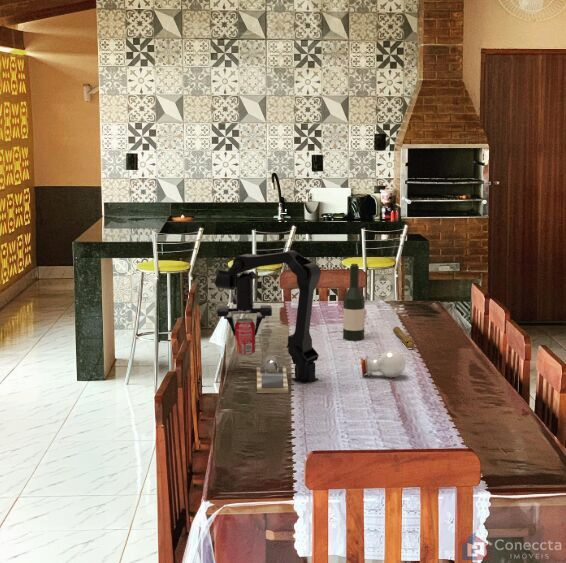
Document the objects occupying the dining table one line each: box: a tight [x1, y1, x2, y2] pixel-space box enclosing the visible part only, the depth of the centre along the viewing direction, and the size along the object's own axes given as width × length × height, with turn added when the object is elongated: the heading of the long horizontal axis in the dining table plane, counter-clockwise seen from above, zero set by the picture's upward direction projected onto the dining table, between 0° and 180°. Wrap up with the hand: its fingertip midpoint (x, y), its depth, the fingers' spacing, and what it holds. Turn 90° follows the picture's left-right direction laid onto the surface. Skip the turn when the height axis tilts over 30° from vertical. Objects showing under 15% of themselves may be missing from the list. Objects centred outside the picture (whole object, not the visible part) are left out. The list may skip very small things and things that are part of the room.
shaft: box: [265, 354, 278, 374], centre depth 340 cm, size 11×4×4 cm, turn 2°
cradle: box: [256, 364, 289, 394], centre depth 332 cm, size 28×10×6 cm, turn 2°
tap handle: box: [393, 326, 415, 349], centre depth 390 cm, size 3×3×30 cm
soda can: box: [234, 317, 256, 357], centre depth 344 cm, size 7×7×12 cm
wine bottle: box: [342, 263, 366, 342], centre depth 392 cm, size 8×8×30 cm
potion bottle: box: [360, 349, 407, 378], centre depth 337 cm, size 9×10×15 cm
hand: (245, 335), depth 343 cm, fingers closed on soda can, 7 cm apart
